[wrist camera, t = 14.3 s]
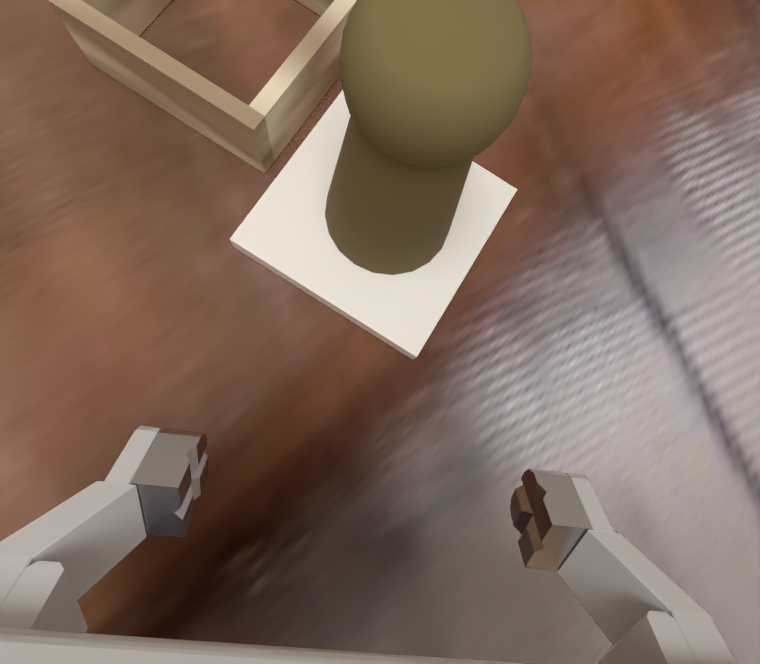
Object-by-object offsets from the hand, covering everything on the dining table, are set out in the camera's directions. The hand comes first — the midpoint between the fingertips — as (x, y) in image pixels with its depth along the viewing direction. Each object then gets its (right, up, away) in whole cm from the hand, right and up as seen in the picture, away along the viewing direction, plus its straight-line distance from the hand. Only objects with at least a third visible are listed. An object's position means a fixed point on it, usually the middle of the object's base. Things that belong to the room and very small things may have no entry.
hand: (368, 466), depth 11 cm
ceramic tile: (0, +9, +11) cm, 14 cm away
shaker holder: (-7, +18, +12) cm, 23 cm away
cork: (+1, +9, +10) cm, 14 cm away
